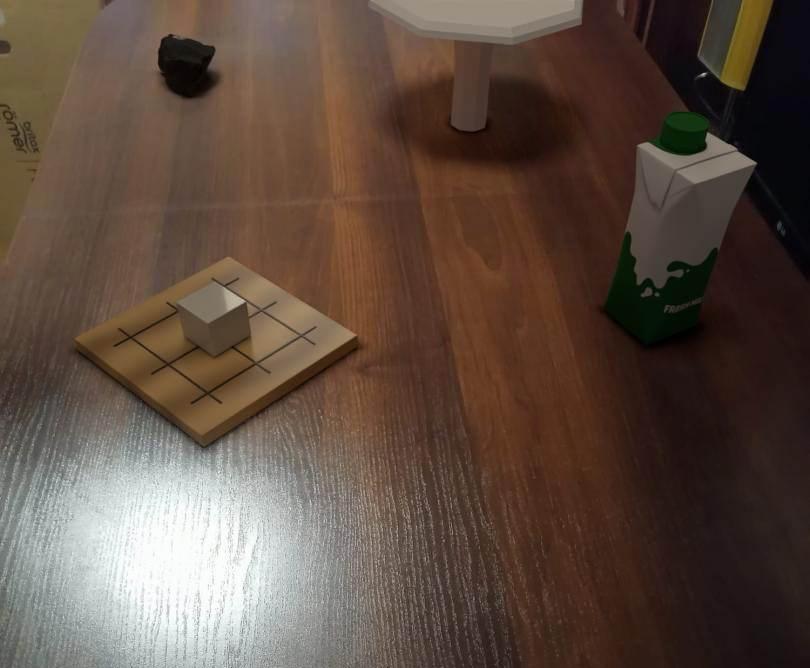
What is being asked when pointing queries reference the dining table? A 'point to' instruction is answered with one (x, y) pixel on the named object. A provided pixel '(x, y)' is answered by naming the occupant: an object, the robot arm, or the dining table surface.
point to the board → (228, 371)
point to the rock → (183, 62)
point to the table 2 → (479, 38)
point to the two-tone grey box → (214, 318)
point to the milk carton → (675, 226)
